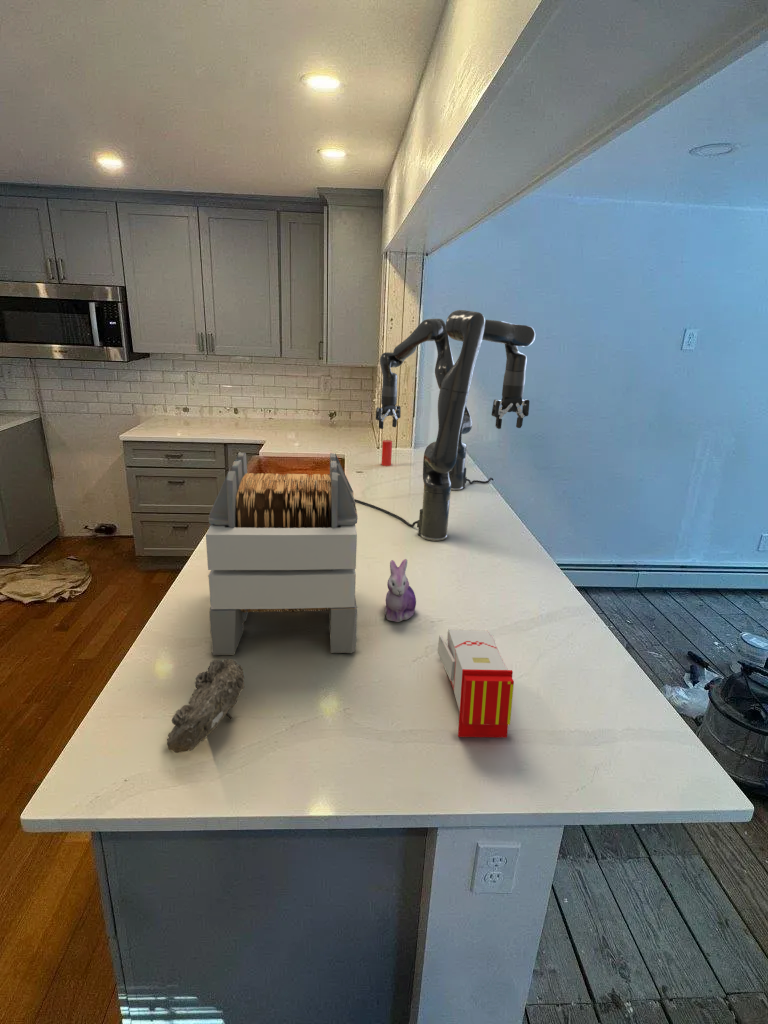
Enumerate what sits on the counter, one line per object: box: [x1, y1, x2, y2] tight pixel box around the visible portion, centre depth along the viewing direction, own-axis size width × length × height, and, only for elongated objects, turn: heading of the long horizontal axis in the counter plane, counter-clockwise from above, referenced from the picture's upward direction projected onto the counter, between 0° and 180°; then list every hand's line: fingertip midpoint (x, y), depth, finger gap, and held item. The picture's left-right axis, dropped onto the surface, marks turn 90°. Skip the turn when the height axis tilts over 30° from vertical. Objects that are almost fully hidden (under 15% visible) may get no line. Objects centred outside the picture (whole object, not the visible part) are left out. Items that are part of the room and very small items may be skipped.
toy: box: [437, 628, 515, 738], centre depth 117 cm, size 12×13×30 cm
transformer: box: [205, 451, 358, 657], centre depth 136 cm, size 34×33×41 cm
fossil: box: [166, 658, 245, 754], centre depth 106 cm, size 22×10×15 cm
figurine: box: [384, 558, 417, 623], centre depth 145 cm, size 9×10×15 cm
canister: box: [381, 439, 393, 467], centre depth 285 cm, size 5×5×12 cm
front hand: (508, 428), depth 209 cm, fingers open, 8 cm apart
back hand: (387, 427), depth 281 cm, fingers open, 8 cm apart
